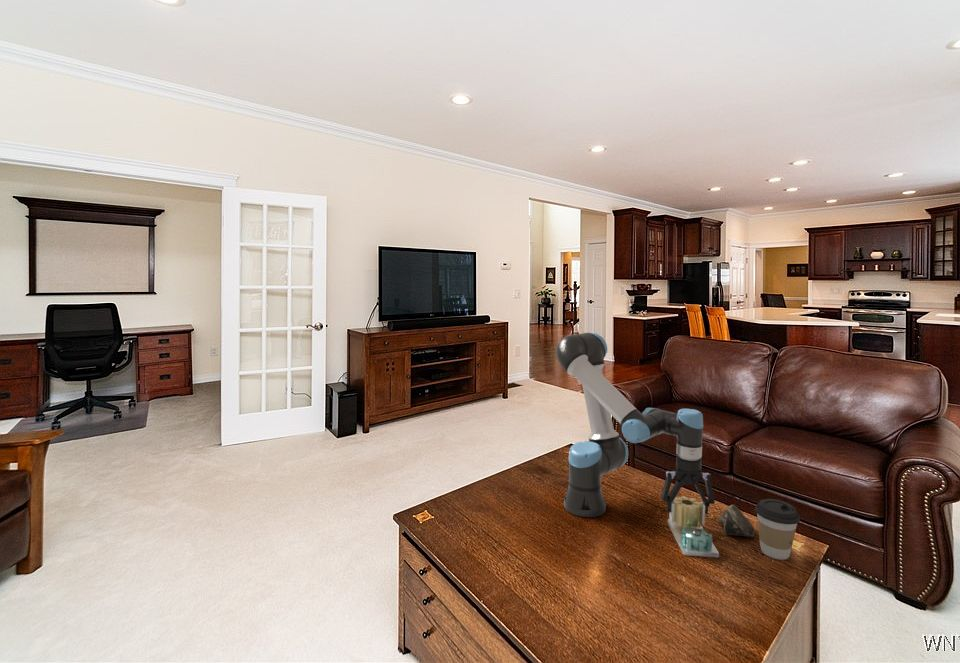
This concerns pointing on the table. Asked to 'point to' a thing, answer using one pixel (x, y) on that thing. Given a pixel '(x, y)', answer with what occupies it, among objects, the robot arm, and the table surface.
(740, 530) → the grey rock
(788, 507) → the coffee cup
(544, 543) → the table surface
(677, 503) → the gear
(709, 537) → the carrier
